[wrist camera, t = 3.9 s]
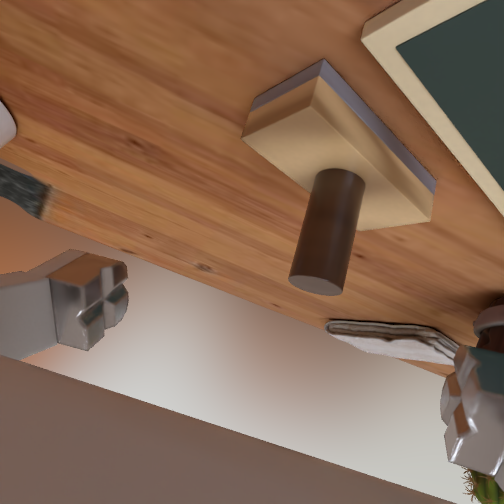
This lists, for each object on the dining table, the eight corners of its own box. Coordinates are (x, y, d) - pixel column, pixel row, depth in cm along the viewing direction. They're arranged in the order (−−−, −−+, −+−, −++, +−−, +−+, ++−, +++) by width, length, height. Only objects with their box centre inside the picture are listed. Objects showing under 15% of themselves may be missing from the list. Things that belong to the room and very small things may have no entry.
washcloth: (472, 350, 59) (470, 372, 58) (365, 339, 73) (361, 356, 72) (435, 324, 52) (432, 348, 51) (324, 317, 66) (320, 336, 65)
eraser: (254, 97, 23) (203, 244, 20) (324, 57, 19) (273, 232, 16) (366, 196, 29) (340, 319, 26) (436, 181, 25) (415, 323, 22)
